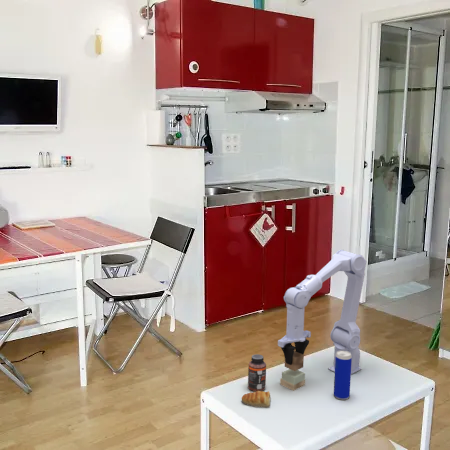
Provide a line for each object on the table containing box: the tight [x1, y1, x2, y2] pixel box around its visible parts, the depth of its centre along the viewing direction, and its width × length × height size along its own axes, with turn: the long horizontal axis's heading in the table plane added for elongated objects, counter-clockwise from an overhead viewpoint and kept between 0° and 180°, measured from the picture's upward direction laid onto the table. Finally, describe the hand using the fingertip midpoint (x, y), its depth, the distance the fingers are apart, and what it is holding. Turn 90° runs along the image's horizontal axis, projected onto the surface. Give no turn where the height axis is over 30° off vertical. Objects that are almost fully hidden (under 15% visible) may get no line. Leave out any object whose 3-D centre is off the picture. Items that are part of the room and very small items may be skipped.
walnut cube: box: [284, 351, 305, 371], centre depth 185 cm, size 4×4×4 cm
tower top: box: [281, 368, 306, 385], centre depth 186 cm, size 6×6×2 cm
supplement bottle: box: [247, 353, 267, 392], centre depth 183 cm, size 6×6×11 cm
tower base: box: [279, 377, 306, 392], centre depth 186 cm, size 6×6×2 cm
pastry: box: [241, 390, 272, 409], centre depth 174 cm, size 9×7×4 cm
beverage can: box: [333, 351, 352, 401], centre depth 178 cm, size 5×5×15 cm
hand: (293, 361), depth 185 cm, fingers closed on walnut cube, 4 cm apart
